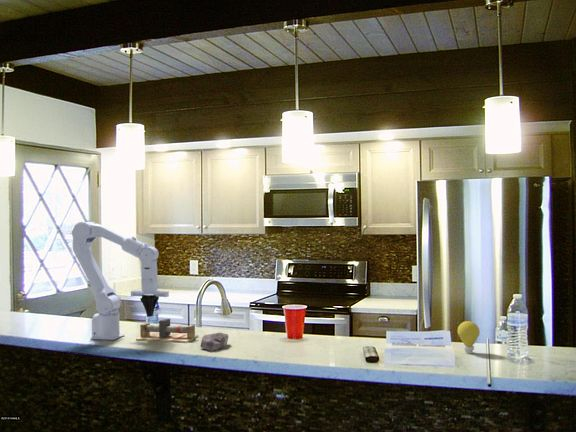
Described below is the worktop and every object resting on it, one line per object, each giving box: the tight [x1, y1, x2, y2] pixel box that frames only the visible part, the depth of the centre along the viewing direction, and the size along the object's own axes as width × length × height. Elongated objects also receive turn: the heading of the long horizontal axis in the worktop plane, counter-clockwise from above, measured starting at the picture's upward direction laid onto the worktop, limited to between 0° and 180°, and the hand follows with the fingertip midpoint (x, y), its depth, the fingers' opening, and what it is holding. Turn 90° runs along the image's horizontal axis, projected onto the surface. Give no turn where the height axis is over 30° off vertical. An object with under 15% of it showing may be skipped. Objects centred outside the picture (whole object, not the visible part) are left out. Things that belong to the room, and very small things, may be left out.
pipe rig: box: [135, 322, 199, 344], centre depth 211 cm, size 20×10×5 cm, turn 75°
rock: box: [199, 332, 229, 352], centre depth 196 cm, size 8×11×5 cm
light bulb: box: [457, 320, 480, 355], centre depth 183 cm, size 7×7×10 cm
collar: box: [158, 318, 171, 338], centre depth 211 cm, size 2×5×6 cm, turn 165°
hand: (150, 316), depth 213 cm, fingers closed
